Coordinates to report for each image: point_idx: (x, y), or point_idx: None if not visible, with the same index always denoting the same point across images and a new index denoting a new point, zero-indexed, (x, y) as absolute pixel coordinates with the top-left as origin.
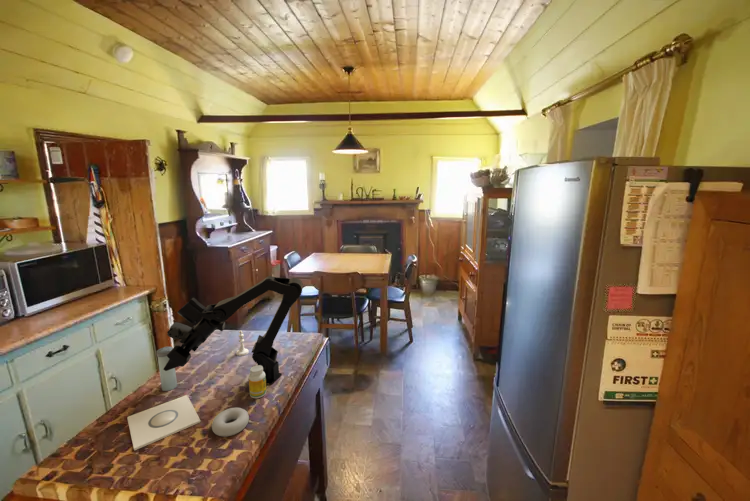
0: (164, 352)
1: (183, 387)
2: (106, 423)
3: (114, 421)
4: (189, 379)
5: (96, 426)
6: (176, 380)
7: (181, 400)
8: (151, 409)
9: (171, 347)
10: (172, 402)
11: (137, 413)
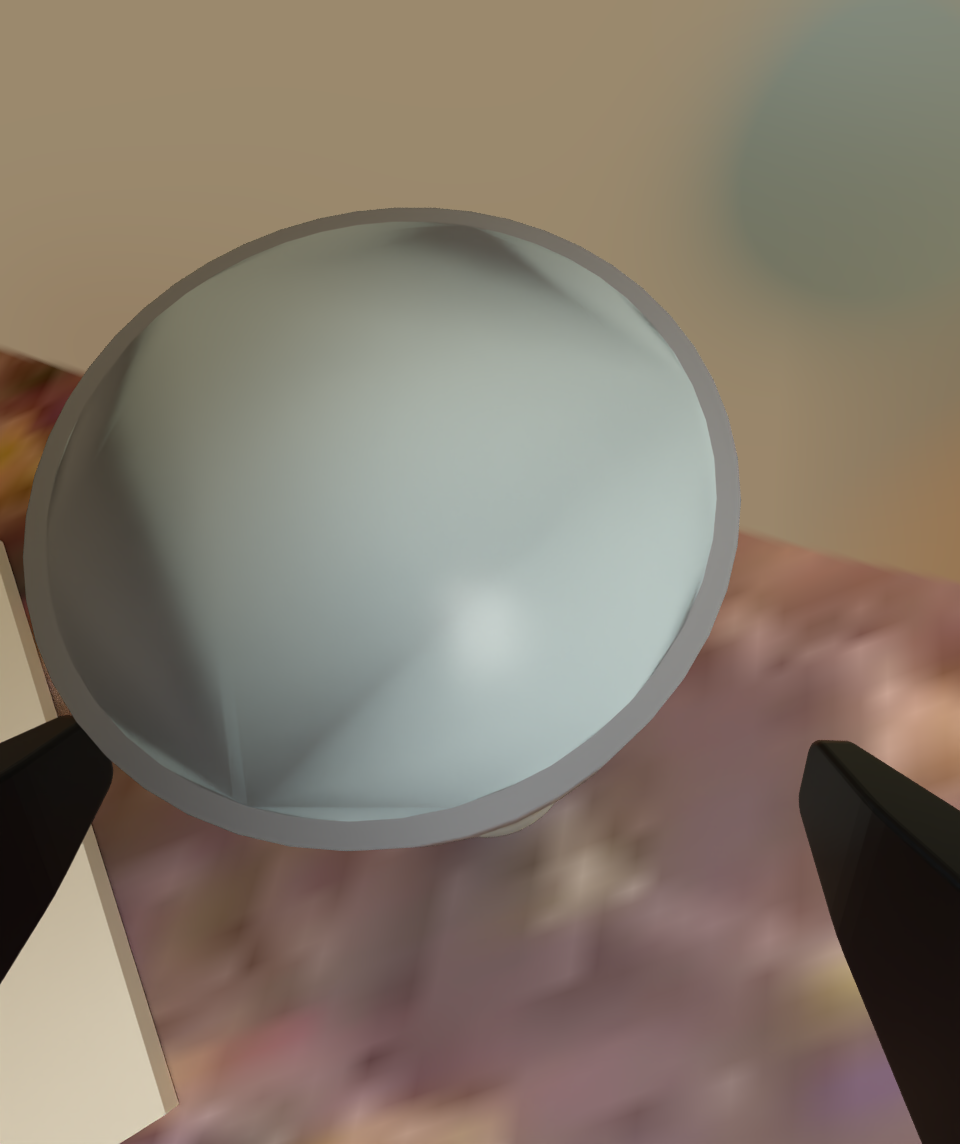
0: (105, 545)
1: (435, 954)
2: (16, 407)
3: (15, 453)
4: (643, 978)
5: (9, 356)
6: (515, 830)
7: (49, 1066)
8: (9, 724)
9: (624, 679)
10: (53, 940)
11: (1, 605)
